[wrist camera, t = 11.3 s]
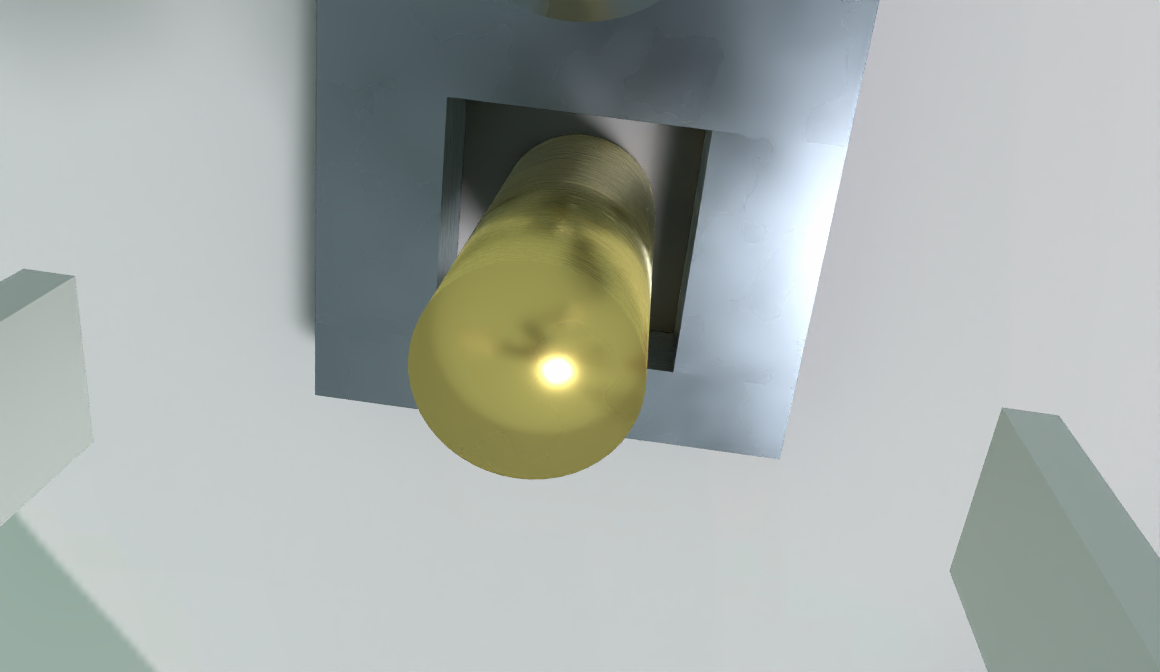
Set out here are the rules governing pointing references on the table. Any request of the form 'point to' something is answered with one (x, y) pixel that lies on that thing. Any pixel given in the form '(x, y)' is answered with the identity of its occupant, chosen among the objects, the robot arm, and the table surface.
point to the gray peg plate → (602, 88)
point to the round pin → (544, 316)
